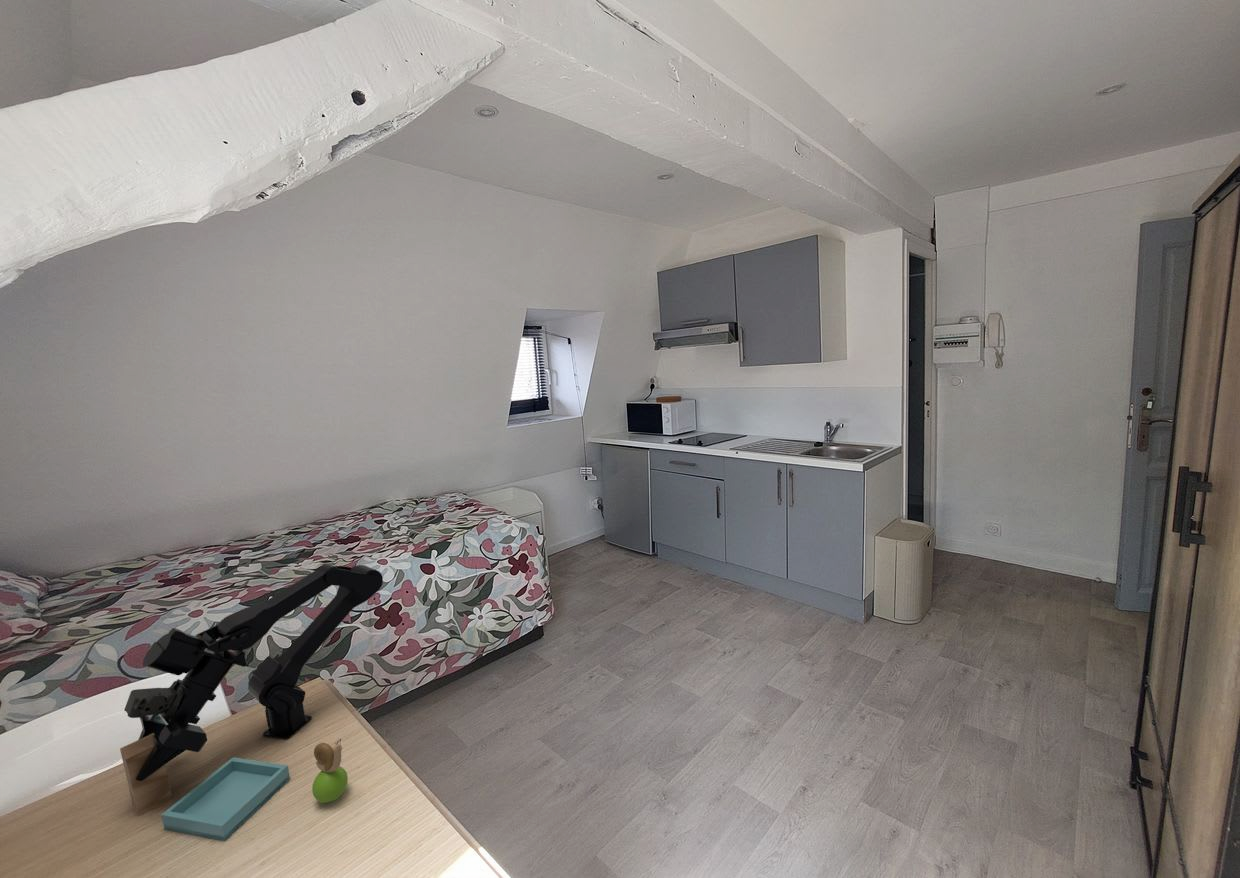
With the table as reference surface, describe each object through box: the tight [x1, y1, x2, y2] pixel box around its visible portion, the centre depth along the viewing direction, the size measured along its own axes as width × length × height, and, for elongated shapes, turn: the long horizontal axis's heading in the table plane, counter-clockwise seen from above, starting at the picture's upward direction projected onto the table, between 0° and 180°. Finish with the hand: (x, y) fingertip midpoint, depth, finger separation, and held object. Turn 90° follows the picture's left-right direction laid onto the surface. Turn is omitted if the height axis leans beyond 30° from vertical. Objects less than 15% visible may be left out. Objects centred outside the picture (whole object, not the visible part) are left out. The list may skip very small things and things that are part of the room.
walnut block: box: [119, 733, 173, 816], centre depth 91 cm, size 4×4×11 cm
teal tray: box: [161, 756, 291, 842], centre depth 90 cm, size 13×13×3 cm
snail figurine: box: [311, 737, 349, 804], centre depth 89 cm, size 5×6×12 cm
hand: (134, 773), depth 90 cm, fingers open, 5 cm apart
